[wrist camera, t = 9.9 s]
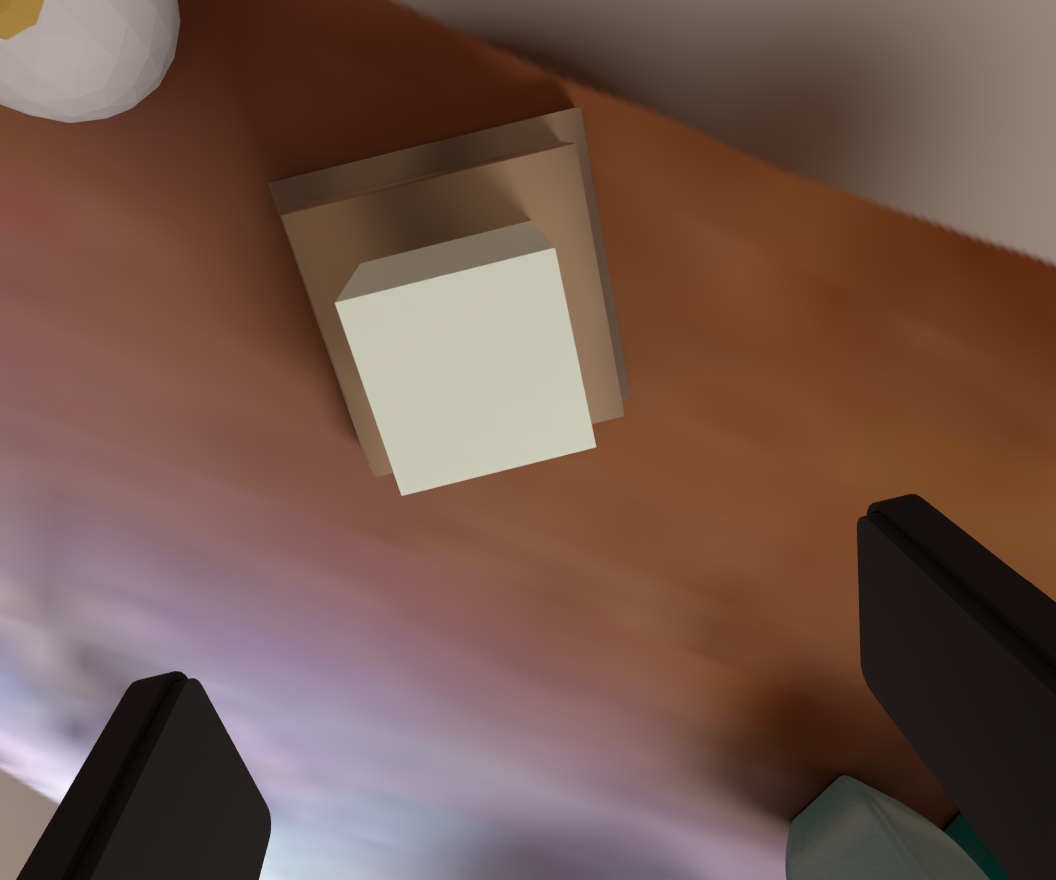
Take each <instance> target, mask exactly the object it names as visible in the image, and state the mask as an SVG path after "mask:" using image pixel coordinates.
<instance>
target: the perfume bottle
mask: <svg viewBox="0 0 1056 880" xmlns="http://www.w3.org/2000/svg"><path fill="white" fill-rule="evenodd" d="M179 27H180V15H179V6H178V0H0V104H1V105H4V106H6V107H9V108H12V109H15V110H17V111H20V112H23V113H26V114H28V115H32V116H37V117H42V118H47V119H52V120H57V121H62V122H67V123H73V122H82V121H90V120H98V119H106V118H109V117H111V116H114V115H116V114H119V113H122V112H124V111H127V110H129V109H132V108H133V107H134V106H135V105H137V104H138V103H139V102H140V101H141V100H143V99H144V98H145V97H146V96H148V95H149V94H150V93H151V92H153V91H154V90H155V89H156V88H157V87H159V85H160V83H161V81H162V79H163V78H164V76H165V74H166V72H167V70H168V68H169V66H170V65H171V63H172V61H173V59H174V57H175V51H176V46H177V40H178V34H179Z"/></svg>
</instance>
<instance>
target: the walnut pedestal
mask: <svg viewBox="0 0 1056 880" xmlns="http://www.w3.org/2000/svg"><path fill="white" fill-rule="evenodd" d="M267 184H268V187H269V190H270V192H271V195H272V198H273V201H274V204H275V206H276V209H277V212H278V215H279V218H280V220H281V223H282V226H283V229H284V232H285V234H286V237H287V240H288V243H289V246H290V248H291V251H292V254H293V257H294V260H295V262H296V265H297V268H298V271H299V274H300V276H301V279H302V282H303V285H304V288H305V290H306V293H307V296H308V299H309V302H310V304H311V307H312V310H313V313H314V316H315V318H316V321H317V324H318V327H319V330H320V332H321V335H322V338H323V341H324V344H325V346H326V349H327V352H328V355H329V358H330V360H331V363H332V366H333V369H334V372H335V374H336V377H337V380H338V383H339V386H340V388H341V391H342V394H343V397H344V400H345V402H346V405H347V408H348V411H349V414H350V416H351V419H352V422H353V425H354V428H355V430H356V433H357V436H358V439H359V441H360V444H361V447H362V450H363V453H364V455H365V458H366V461H367V464H369V465H370V467H371V470H372V473H373V476H374V478H375V477H379V476H383V475H387V474H391V473H394V472H393V469H392V467H391V464H390V461H389V458H388V455H387V452H386V449H385V446H384V443H383V441H382V438H381V435H380V432H379V429H378V426H377V423H376V420H375V418H374V415H373V412H372V409H371V406H370V403H369V400H368V397H367V394H366V392H365V389H364V386H363V383H362V380H361V377H360V374H359V371H358V369H357V366H356V363H355V360H354V357H353V354H352V351H351V348H350V345H349V343H348V340H347V337H346V334H345V331H344V328H343V325H342V322H341V320H340V317H339V314H338V311H337V308H336V305H335V301H336V300H337V298H338V297H339V295H340V294H341V292H342V291H343V289H344V288H345V286H346V285H347V283H348V282H349V280H350V279H351V277H352V276H353V274H354V273H355V271H356V270H357V268H358V267H359V265H360V264H361V263H364V262H368V261H372V260H376V259H380V258H384V257H387V256H391V255H395V254H399V253H403V252H407V251H411V250H415V249H419V248H423V247H427V246H431V245H435V244H439V243H443V242H447V241H451V240H455V239H459V238H463V237H467V236H471V235H475V234H479V233H483V232H487V231H491V230H495V229H499V228H503V227H507V226H511V225H515V224H519V223H523V222H527V221H532V222H533V223H534V224H535V225H536V226H537V228H538V229H539V230H540V231H541V232H542V233H543V234H544V236H545V237H546V238H547V239H548V240H549V241H550V242H551V244H552V245H553V246H554V247H555V250H556V255H557V260H558V264H559V269H560V274H561V279H562V284H563V289H564V293H565V298H566V303H567V308H568V313H569V318H570V323H571V327H572V332H573V337H574V342H575V347H576V352H577V356H578V361H579V366H580V371H581V376H582V381H583V386H584V390H585V395H586V400H587V405H588V410H589V415H590V419H591V424H594V423H598V422H602V421H606V420H610V419H614V418H619V417H623V416H625V415H624V409H623V404H622V401H625V400H629V399H631V396H630V391H629V385H628V379H627V373H626V367H625V362H624V356H623V350H622V344H621V339H620V333H619V327H618V321H617V315H616V310H615V304H614V298H613V292H612V286H611V281H610V275H609V269H608V263H607V258H606V252H605V246H604V240H603V234H602V229H601V223H600V217H599V211H598V205H597V200H596V194H595V188H594V182H593V177H592V171H591V165H590V159H589V153H588V148H587V142H586V136H585V130H584V125H583V119H582V113H581V107H574V108H570V109H566V110H562V111H558V112H554V113H550V114H546V115H542V116H538V117H534V118H529V119H525V120H521V121H517V122H513V123H509V124H505V125H501V126H497V127H493V128H489V129H485V130H481V131H477V132H472V133H468V134H464V135H460V136H456V137H452V138H448V139H444V140H440V141H436V142H432V143H428V144H424V145H420V146H415V147H411V148H407V149H403V150H399V151H395V152H391V153H387V154H383V155H379V156H375V157H371V158H367V159H363V160H358V161H354V162H350V163H346V164H342V165H338V166H334V167H330V168H326V169H322V170H318V171H314V172H310V173H306V174H301V175H297V176H293V177H289V178H285V179H281V180H277V181H273V182H270V183H267Z"/></svg>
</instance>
